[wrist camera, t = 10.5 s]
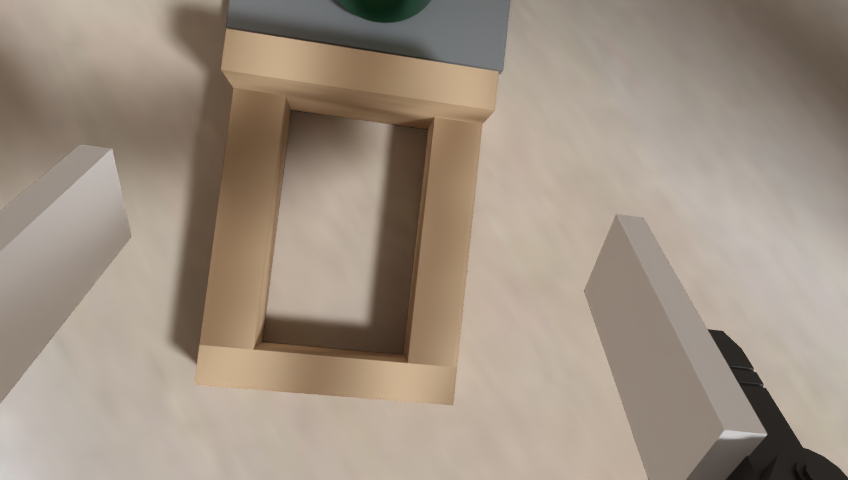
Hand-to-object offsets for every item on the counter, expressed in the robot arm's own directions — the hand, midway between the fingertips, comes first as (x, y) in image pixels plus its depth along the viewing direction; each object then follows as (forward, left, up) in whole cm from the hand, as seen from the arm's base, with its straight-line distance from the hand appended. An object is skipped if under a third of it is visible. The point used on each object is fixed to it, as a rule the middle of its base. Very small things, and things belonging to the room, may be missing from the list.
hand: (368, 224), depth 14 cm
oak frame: (+1, 0, -9) cm, 9 cm away
